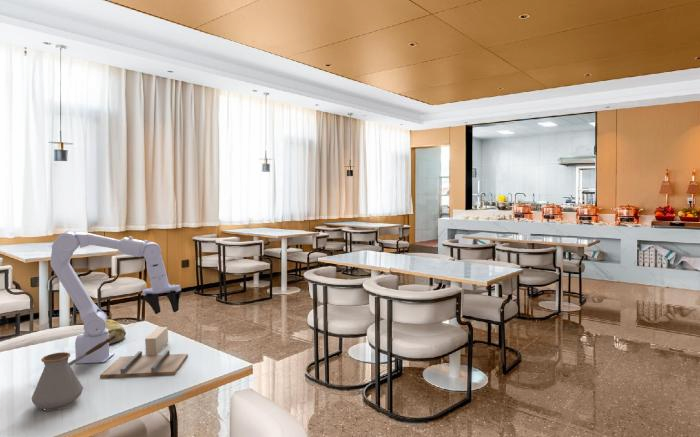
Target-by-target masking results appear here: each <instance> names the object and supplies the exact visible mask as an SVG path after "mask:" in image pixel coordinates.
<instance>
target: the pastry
mask: <svg viewBox="0 0 700 437" xmlns="http://www.w3.org/2000/svg"><path fill="white" fill-rule="evenodd" d="M106 328H107V329H108V332H109V338H111V337H112V336H114V335H116V336H117V338H118V339H119V341H117V340H118V339H117V338H114V339H113V340H111V341H110V342H109V345H112V344H115V343H118V342H120V341H123V340H124V338H126V335H127V332H126V330H125V328H124V327H123V326H122V325H121V324H120V323H119V322H118V321H117V320H114V319H111V318H110V319H109V318H107V322H106ZM116 339H117V340H116Z"/></svg>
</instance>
